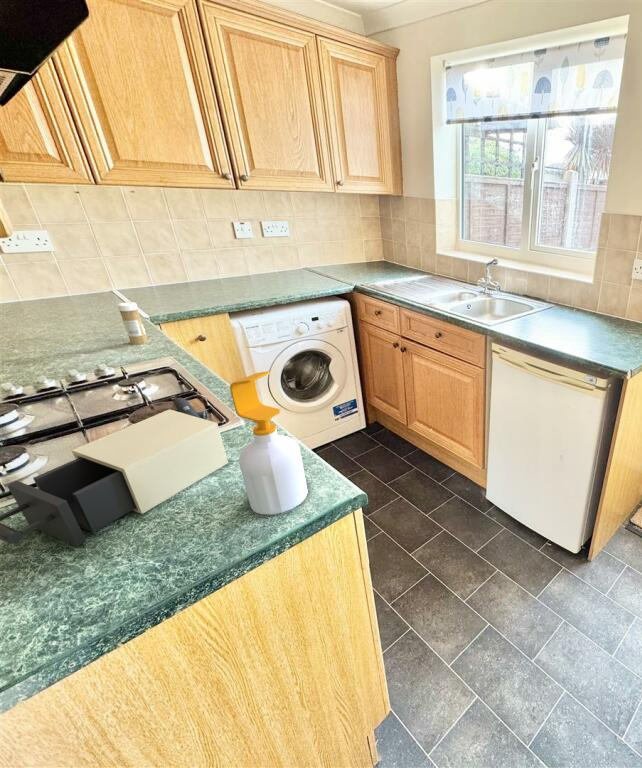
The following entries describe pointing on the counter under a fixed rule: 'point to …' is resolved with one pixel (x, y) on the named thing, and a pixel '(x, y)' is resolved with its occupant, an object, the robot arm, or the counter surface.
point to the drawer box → (159, 455)
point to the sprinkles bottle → (132, 323)
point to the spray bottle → (267, 455)
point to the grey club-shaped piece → (189, 408)
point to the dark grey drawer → (70, 501)
